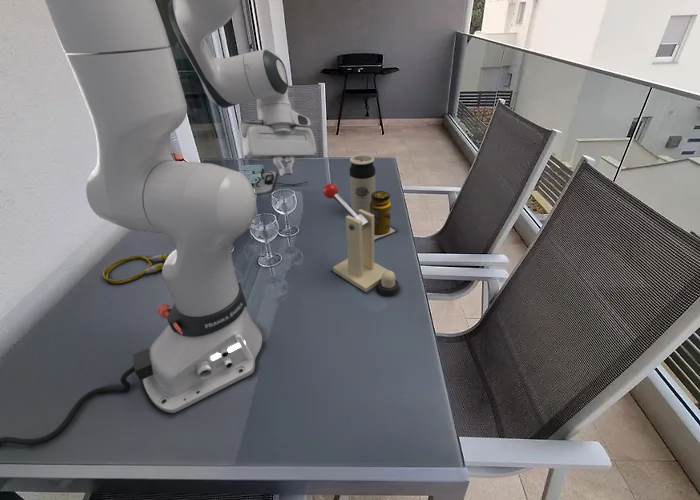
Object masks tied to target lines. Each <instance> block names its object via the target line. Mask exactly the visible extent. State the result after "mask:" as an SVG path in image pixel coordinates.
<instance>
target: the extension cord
mask: <svg viewBox="0 0 700 500" xmlns="http://www.w3.org/2000/svg"><path fill="white" fill-rule="evenodd" d="M169 255H170V254H158V255H155V256H152V257H146V256H145V255H133V256H128V257H125V258H121V259H119V260H116V261H114V262H112V263H110V264H108V265H107V266H106V267H105V268H104V269H103V270H102V277H103V279H104V280H106V281H107V282H109V283H111V284H114V285H119V284H125V283H128V282H132V281H134V280H137V279H139V278H140V277H142V276H143V275H144V274H146V275H148V274H153V273H154V274H155V273H157V272H159V271H162V268H163V263H162V262H165V261H166V259H167V257H168V256H169ZM136 259H142V260H146V261H147V262H148V265H147V266H146V268H145V269H144V270H142V272H140V273H138V274H135V275H133V276H129V277H127V278H123V279H118V280H117V279H116V280H115V279H111V278H109V273H110V272H111V271H112V270H113V269H114V268H116V267H118V266H119V265H121V264H124V263H126V262H128V261H132V260H136ZM151 260H152V262H159V263H157V264H154V265H153V264H152V262H151Z"/></svg>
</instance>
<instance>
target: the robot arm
mask: <svg viewBox="0 0 700 500" xmlns="http://www.w3.org/2000/svg"><path fill="white" fill-rule="evenodd" d="M239 1H240V0H169V1H168V4H167V6H168V7H167V9H168V17H169V21H170V24H171V26H172V29H173V32H174V34H175V35H176V37H177V39H178V41H179V43H180V45H181V47H182V49H183V51H184V53H185V55H186V57H187V58H188V60H189V62H190V63H191V65H192V67H193V69H194V71H195V73H196V74H197V76H198V78H199V80H200V83H201V85H202V88H203V90H204V92H205V94H206V96H207V98H208V100H209V101H210V102H212V103H213V104H215V105H216V106H218V107H220V108H222V109H227V108H230V107H234V106H237V105H240V104H243V103H248V102H253V101H256V114H257V118H258V119H250V118H245V119H244V120H243V121H241V122H240V124H239V129H240V133H241V135H242V151H243V155H244V157H245V158H247V160H261V159H262V160H265V159H266V160H267V159H268V160H269V159H271V160H273V161H272V162H273V164H274V166H275V167H276V169H278V174H279V176H281V177H283V176H292V175H293V174H294V172H293V166H294V163H295V159H310V158H312V157H315V156H316V154H317V145H316V139H315V135H314V132H313V130H312V129H311V128H310V127H311V124H312V123H311V119H310V118H309V117H307V116H305V115H302V114H301V113H299V112H297V111H295V110H293V108H292V104H291V102H290V99H289V80H288V75H287V70H286V66H285V63H284V62H283V61H282V59H281V58H280V56H279V55H278V54H277V52H275V51H273V50H270V49H259V50H254V51H249V52H246V53H242V54H239V55H233V56H228V57H222V58H220V57H215V56H214V55H213V53H212V50H211V48H210V46H209V44H208V42H207V40H206V39H207V38H209V36H210V35H211V34H213V33H214V32H216V31H217V30H219V29H221V28H223V27H224V26H225V25H226V24H227V23H229V21H230V20H231V19H232V18H233V16H234V14H235V13H236V11H237V8H238V5H239ZM44 2H45V4H46V7H47V11H48V14H49V17H50V20H51V23H52V25H53V29H54V31H55V34H56V36H57V39H58V41H59V44H60V46H61V48H62V51H63V53H64V55H65V57H66V60H67V62H68V65H69V66H70V69H71V72H72V74H73V76H74V79H75V81H76V83H77V86H78V89H79V91H80V93H81V95H82V98H83V101H84V103H85V106H86V108H87V110H88V114H89V116H90V120H91V121H92V125H93V129H94V133H95V134H94V135H95V139H96V149H97V156H96V157H97V160H96V166H95V167H94V168H93V170H92V171H91V173H90V174H89V176H88V178H87V181H86V187H85V193H86V199H87V203H88V205H89V206H90V208H91V210H92V211H93V212H94V213H95V215H96V216H98V217H99V218H101V219H102V220H105V221H106V222H108V223H111V224H113V225H116V226H119V227H121V228H124V229H128V230H132V231H138V232H146V233H152V234H153V233H154V234H161V235H162V234H163V235H165V236H168V237H169V238H170V239H171V241H173V243H174V245H175V249H174V250H173V251H172V252H170V253H169V254H168V255H169V256H168V257H167V259H166V260H164V263H163V264H162V266H163V268H162V270H161V276H162V279H163V281H164V284H165V286H166V288H167V290H168V292H169V294H170V295H169V296H170V297H171V299H172V301H173V305H172V307H171V306H170V305H169V304H167V303H162V304H160V305H158V307H157V309H156V311H157V313H158V314H159V315H160V317H161V318H162V319H166V320H167V323H168V324H167V325H166V327H165V328H164V330H163V331H162V332H161V333H160V334H159V335H158V337H157V338H156V339H155V340H154V341H153V343H152V344H151V346H150V347H149V348H147V349H143V350H142V351H139V352H136V353H133V354H132V357H133V365H132V366H131V367H130V368H129V369H127V370H126V371H125V372H123V374H122V375H121V377H120V384H121V385H122V386H121V387H112V386H103V387H98V388H94V389H91V390H90V391H88V392H87V393H85V394H84V395H83V396H81V397H80V398H79V399H78V401H77V402H76V403H75V404H74V405H73V406H72V408H71V410H70V411H69V413H68V414H67V416H66V417H65V419H63V421H62V422H61V424H60V425H59V426H58V427H57V428H55V429H54V430H53V431H51V432H50V433H48V434H46V435H44V436H41V437H37V438H22V437H15V436H14V437H13V436H2V437H0V444H13V445H21V446H34V445H40V444H43V443H46V442H48V441H50V440H52V439H54V438H55V437H57V436H58V435H59V434H61V433H62V432H63V431H64V430H65V429H66V428H67V427H68V425H69V424H70V423H71V421H72V420H73V418H74V417H75V415H76V413H77V412H78V411H79V409H80V407H81V406H82V405H83V404H84V403H85V402H86V401H87V400H89V399H90V398H91V397H92V396H95V395H97V394H102V393H125V392H126V391H128V390H129V389H130V388H131V383H130V382H129V381H128V380H127V379H128V377H129V376H130V375H132V374H133V373H135V374H136V376H137V378H138V380H140V381H142V383H143V387H144V389H145V391H146V394H147V396H148V398H149V399H150V401H151V403H152V404H154V406H156V407H157V408H158V409H159V410H161V411H162V412H165V413H169V414H175V413H178V412H180V411H181V410H183V409H185V408H187V407H189V406H191V405H193V404H196V403H198V402H199V401H201V400H203V399H206V398H207V397H209V396H212V395H214V394H215V393H218V392H220V391H221V390H224V389H225V388H227V387H229V386H232V385H233V384H235V383H237V382H239V381H241V380H243V379H245V378H247V377H249V376H251V375H252V374H253V373H254V372H255V367H256V358H257V357H258V354H259V353H260V351H261V348H262V345H263V334H262V332H261V330H260V329H259V327H258V326H257V324H256V323H255V322H254V320H253V319H252V317H251V315H250V313H249V311H248V308H247V306H248V304H247V298H246V294H245V291H244V289H243V286H242V284H241V283H240V282H238V278H237V274H236V270H235V266H234V262H233V253H232V252H233V251H232V250H233V246H234V243H235V241H236V240H237V239H238V238H239V237H240V236H242V235H243V234H244V233H245V232H247V230H248V229H249V228H250V226H251V225H252V223H253V221H254V219H255V216H256V213H257V195H256V194H255V192H254V189H253V187H252V185H251V183H250V181H249V180H248V179H247V177H246V176H245V175H244V174H242V173H240V172H241V171H239V170H238V171H237V170H234V169H232V168H228V167H225V166H221V165H218V164H214V163H210V162H208V163H207V162H194V161H182V160H181V161H180V160H175V158H174V156H173V155H172V151H171V145H170V141H171V140H170V139H171V134H172V133H174V132H175V131H176V130H177V129H178V128H179V127H180V126H181V125H182V124H183V122H184V121H185V119H186V117H187V113H188V103H187V101H186V97H185V92H184V90H183V87H182V82H181V79H180V75H179V71H178V69H177V65H176V61H175V58H174V54H173V49H172V48H171V44H170V40H169V37H168V34H167V30H166V27H165V25H164V21H163V19H162V16H161V14H160V11H159V8H158V5H157V2H156V0H44ZM283 159H284V161H285V163H286V167H285V166H284V164H283V163H282V161H283Z"/></svg>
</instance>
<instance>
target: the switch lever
mask: <svg viewBox="0 0 700 500" xmlns="http://www.w3.org/2000/svg"><path fill="white" fill-rule="evenodd" d="M322 193H323V195H324V196H325V198H327V199H333V200H334V201H335V202H336V203H337V204H338V205H339V206H340V207H341V208H342V209H343V210H344V211H345V212H346V214H347V216H348V215H349V216H351V217H353V218H356V219H358V220H360V221H362V230H363V229H365V228H366V226H367V224H368V223H369V221H368V220H367V219H366V218H365V217H364V216H363V215H362V214H359V215H357V214H356V213H355V212H354V211H353V210H352V209H351V206H350V205H349V204H348V203H347V202H346V201H345V200H344V199H343V198H342V197H341V196H340V194H339V188H338V186H337V185H336V184H335V183H332V182H331V183H327V184H325V185H324V187H323V190H322Z"/></svg>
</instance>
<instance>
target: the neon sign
mask: <svg viewBox="0 0 700 500" xmlns="http://www.w3.org/2000/svg"><path fill="white" fill-rule="evenodd" d="M239 170H240V171H239V172H240V173H242V174H244V175H245V176H246V177H247V179H248V180H249V181H250V183H251V185H252V187H253V188H254V189H255V192H256V194H255V195H261V194H262V195H263V194H267V193H269V192H271V191H273V186H274V184H278V185H285V186H295V185H303V184H307V183H309V181H305V182H299V183H283V182H275V180H276V177H277V172H276V171H274V170H265V168H264V165H263V164H249V165H248V164H247V165H241V166H240V167H239Z"/></svg>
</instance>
